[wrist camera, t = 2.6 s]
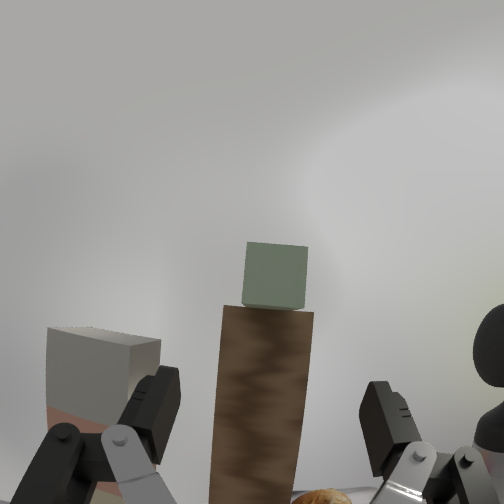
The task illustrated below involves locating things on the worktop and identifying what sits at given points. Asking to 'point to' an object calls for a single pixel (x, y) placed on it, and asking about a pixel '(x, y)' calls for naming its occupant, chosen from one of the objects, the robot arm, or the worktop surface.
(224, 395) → the walnut stand
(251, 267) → the long brick
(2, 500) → the worktop surface
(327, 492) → the bread roll
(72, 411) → the brick tower
